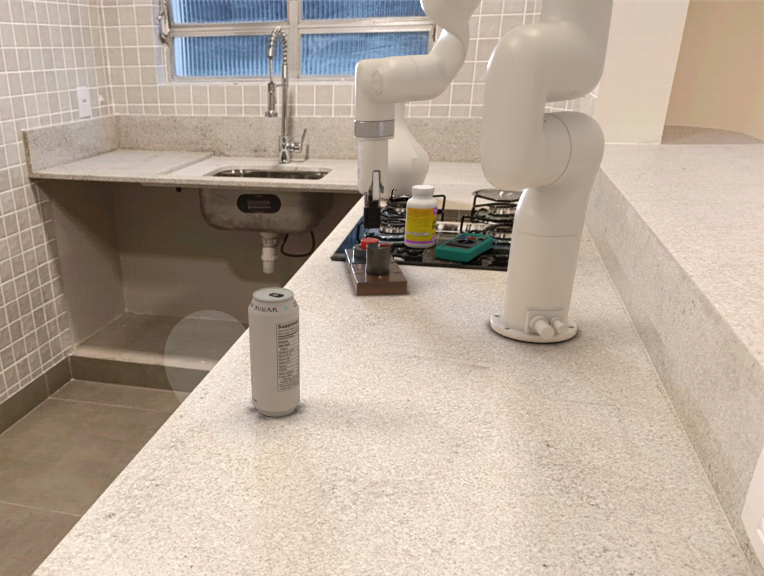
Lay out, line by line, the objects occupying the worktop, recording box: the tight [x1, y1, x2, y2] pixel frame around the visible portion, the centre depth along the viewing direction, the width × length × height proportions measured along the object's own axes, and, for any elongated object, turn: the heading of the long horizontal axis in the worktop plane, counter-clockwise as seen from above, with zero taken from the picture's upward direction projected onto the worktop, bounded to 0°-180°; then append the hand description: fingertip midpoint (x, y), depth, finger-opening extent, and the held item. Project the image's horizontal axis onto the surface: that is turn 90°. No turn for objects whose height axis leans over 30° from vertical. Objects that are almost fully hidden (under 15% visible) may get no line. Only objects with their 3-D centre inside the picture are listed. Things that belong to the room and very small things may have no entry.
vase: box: [381, 102, 430, 201], centre depth 200 cm, size 18×18×30 cm
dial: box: [366, 242, 392, 275], centre depth 129 cm, size 4×4×5 cm
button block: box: [344, 242, 397, 275], centre depth 142 cm, size 11×9×4 cm
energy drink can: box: [247, 286, 301, 418], centre depth 84 cm, size 6×6×15 cm
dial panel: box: [349, 262, 408, 297], centre depth 130 cm, size 12×9×3 cm
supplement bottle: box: [403, 184, 438, 249], centre depth 153 cm, size 7×7×13 cm
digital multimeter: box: [434, 232, 494, 264], centre depth 148 cm, size 7×15×3 cm, turn 142°
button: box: [360, 237, 380, 249], centre depth 141 cm, size 4×4×2 cm
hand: (371, 227), depth 139 cm, fingers closed
